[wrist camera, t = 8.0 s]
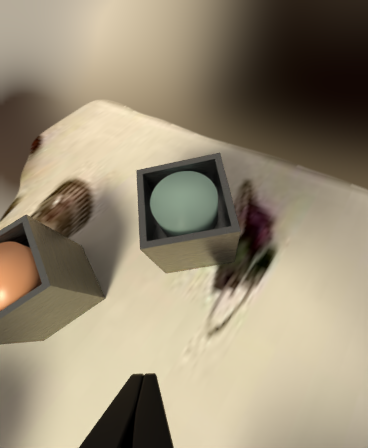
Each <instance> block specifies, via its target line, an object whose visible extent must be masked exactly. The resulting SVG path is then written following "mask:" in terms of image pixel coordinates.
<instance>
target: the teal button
mask: <svg viewBox="0 0 368 448" xmlns="http://www.w3.org/2000/svg"><path fill="white" fill-rule="evenodd" d="M150 207H151V211H152V214H153V216H154V217H155V219H156V221H157V222H158V224H159V226H160V227H161V229H162V230H163V232H164V233H165V234H166V235H167V236H169V237H174V236H179V235H185V234H190V233H196V232H201V231H207V230H212V229H213V228H214V227H215V225H216V223H217V219H218V194H217V190H216V187H215V185H214V184H213V182H212V181H211V180H210V179H209V178H208V177H206V176H205V175H203V174H201V173H198V172H194V171H180V172H176V173H173V174H171V175H169V176H167V177H165V178H164V179H163V180H161V181H160V182H159V183H158V184H157V186H156V187H155V189H154V190H153V192H152V195H151V199H150Z"/></svg>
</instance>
